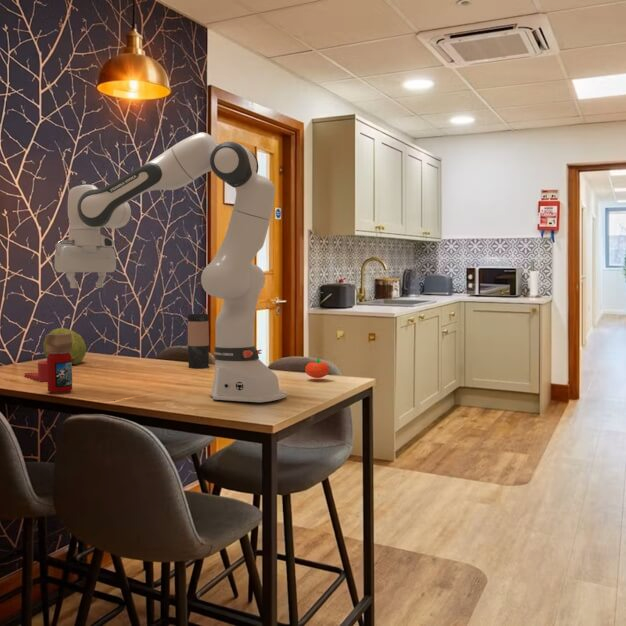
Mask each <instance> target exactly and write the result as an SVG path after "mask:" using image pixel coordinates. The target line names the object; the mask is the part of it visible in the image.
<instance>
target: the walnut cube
mask: <svg viewBox="0 0 626 626" xmlns="http://www.w3.org/2000/svg"><path fill="white" fill-rule="evenodd" d="M45 338H46V352H56V353H59V352H67V351H72V334H65V333H57V334H49V333H47V334H45Z"/></svg>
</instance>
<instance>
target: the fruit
mask: <svg viewBox="0 0 626 626" xmlns="http://www.w3.org/2000/svg"><path fill="white" fill-rule="evenodd" d="M57 333H65V334H72V351H69V353H70V355H71V356H72V364H76V365H79V364H80V363H81V362H82V361H83V360H84V358H85V356H86V354H87V348H88V347H87V345H86V343H85V340H84V338H83V336H81V334H79V333H77V332H75V331H74V330H73V329H69V328H65V327H60V328H59V327H58V328H55V329H52V330H51V331H50V332H49V333H48V334H57ZM42 348H43V349H42V350H43V353H44V356H45V357H46V358H47V357H48V355H49V352H46V337H45V338H44V340H43V344H42Z"/></svg>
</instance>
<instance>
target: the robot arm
mask: <svg viewBox="0 0 626 626" xmlns="http://www.w3.org/2000/svg"><path fill="white" fill-rule="evenodd" d="M209 172H213V173H214V175H215V176H216V177H217V178H218V179H220V180H221V181H222V182H224V183H226V184H227V185H229V186H231V187H232V188H234V189H235V199H234V204H233V207H232V211H231V215H230V218H229V222H228V226H227V230H226V233H225V236H224V238H223V241H222V242H221V244H220V246H219V248H218V250H217V252H216V254H215V256H214V257H213V259H212V260H211V262H210V263H209V264H207V266H205V267H204V269H203V270H202V272H201V276H200V283H201V286H202V288H203V290H204V291H205V293H207V294H208V295H209V296H212V297H214V298H217V299H220V300H222V305H221V308H220V312H219V314H217V316H216V318H215V346H214V347H213V348H214V350H213V351H214V352H213V353H214V354H213V358H214V362H215V363H214V364H215V366H214V375H213V381H212V382H213V383H212V388H211V392H210V395H209V396H211V397H212V400H220V401H230V402H231V401H233V402H235V401H236V402H246V403H247V402H250V403H265V402H272V401H276V400H277V401H278V400H281V399H284V398H286V397H287V396H288V393H287V391H282V390H280V384H279V379H278V376H277V374H276V373H275V372H274V371H272V369H270V368H269V367H268V366H267V365H266V364H265V363H264V362H263V361H262V360H260V356H259V355H261V354H262V351H263V349H257V348H256V346H255V316H256V311H257V306H258V301H259V297H260V294H261V292H262V290H263V289H264V287H265V283H266V278H265V273H264V271H263V270H262V268H261V267H259V266H258V265H256V264H255V263H253V261H254V258H255V257H256V256H257V255H258V252H260V250H262V248H263V247H264V244H265V241H266V238H267V233H268V230H269V227H270V223H271V219H272V214H273V211H274V210H273V208H274V203H275V197H276V196H275V195H276V187H275V185H274V183H273V182H272V180H270V179H269V178H267V177H266V176H263V175H260V174H258V172H259V161H258V159H257V156H256V155H255V153H253V152H252V151H251V150H250V149H249V148H247V147H246V145H245V146H244V145H243V144H241V143H237V142H234V141H224V142H221V143H220V144H219V143H218V141H216V139H215V138H214V137H213V136H212V135H210V134H209V133H206V132H201V131H199V132H197V133H196V134H193V135H190V136H188V137H186V138H184V139H182V140H180V141H179V142H177V143H175V144H174V145H173V146H171V147H170V148H168V149H167V150H164V152H162V153H161V154H159V155H157V156H156V157H154V158H153V159H151V160H150V161H148V162H146V163H144V164H143V165H141V166H140V167H137V168H135V169H134V170H132V171H130V172H129V173H127V174H124V175H123V176H122V177H120V178H119V179H116V180H114V181H113V182H112V183H109V184H107V185H106V186H104V187H103V186H102V187H101V188H98V187H97V186H96V185H93V184H89V183H88V184H87V183H86V184H79V185H76V186H73V187H72V188H70V190H69V192H68V195H67V219H68V220H69V227H68V239H66V240H65V239H60V240H58V241H57V242H56V243H55V252H54V263H53V265H54V270H55V271H56V273H65V277H66V279H67V281H68V282H69V288H70V289H78V288H79V282H78V281H76V279H75V276H76V273H97V276H98V279H97V281H95V288H99V289H100V288H104V282H105V279H106V278H107V273H114V272H115V271H116V269H117V259H116V258H117V257H116V252H115V250H114V249H115V248H114V247H115V241H114V240H113V239H112V238H109V237H107V236H105V235H103V234H101V228H104V229H105V228H107V229H119V228H123V227H125V226H126V225H128V223H129V222H130V220H131V217H132V207H131V205H130V203H129V202H130V201H131V200H133V199H135V198H137V197H138V196H140V195H142V194H144V193H147V192H151V191H152V192H153V191H175V190H178V189H181V188H183V187H185V186H188V185H190V184H191V183H193V181H195V180H197V179H198V178H200V177H201V176H203V175H204V174H206V173H209Z"/></svg>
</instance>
